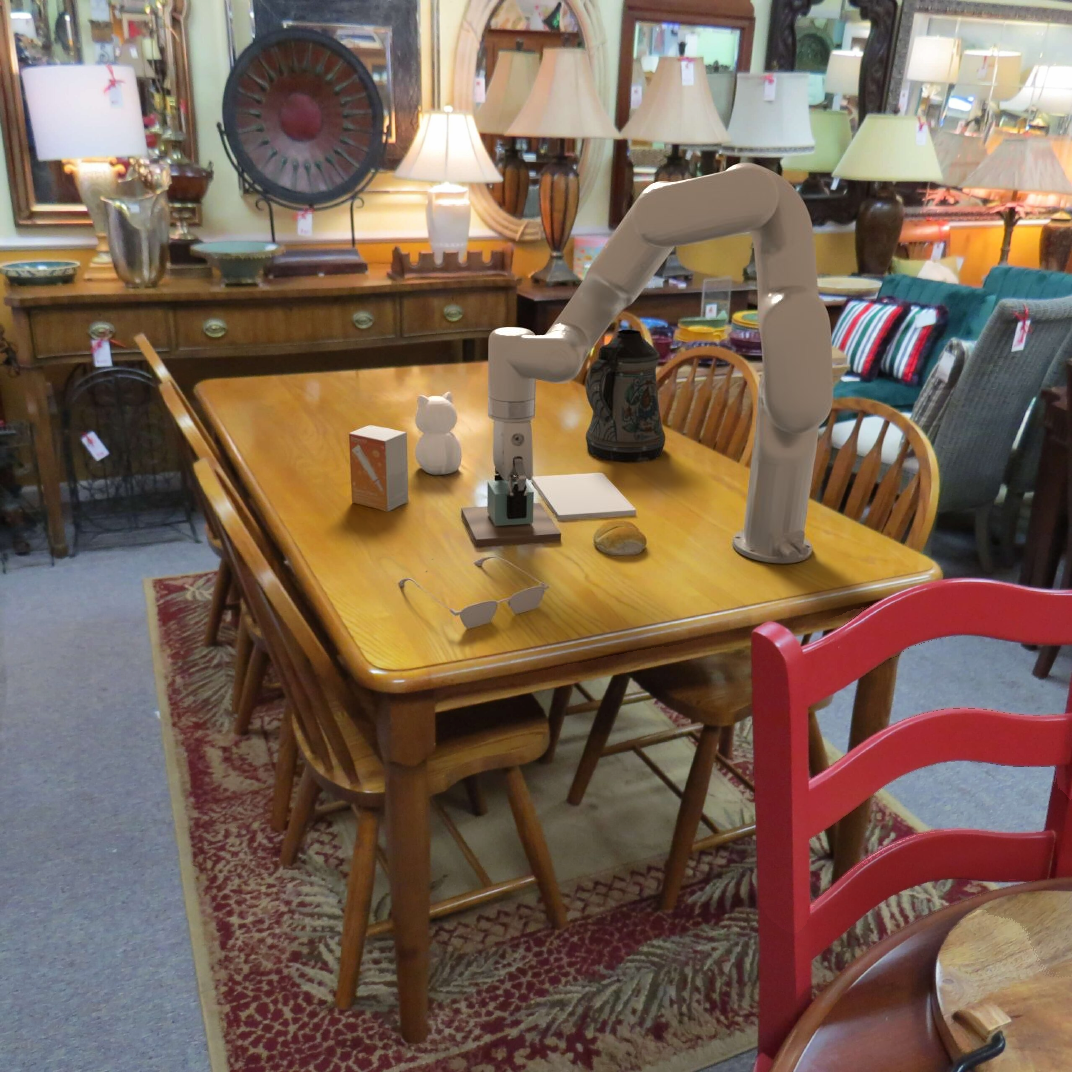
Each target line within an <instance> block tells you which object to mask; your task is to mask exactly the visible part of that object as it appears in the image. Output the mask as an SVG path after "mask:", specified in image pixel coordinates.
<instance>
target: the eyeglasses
mask: <svg viewBox="0 0 1072 1072" xmlns="http://www.w3.org/2000/svg"><path fill="white" fill-rule="evenodd" d="M490 559H497V560H501V561H503V562H505V563H507V564H510V565H512V566H513V567H514V568H516V569H518V570H519V571H522V573H524V574H526V575H527V576H529V577H530V578H532V579H534V580H535V581H536V582H538V583H539V584H540V585H536V586H532V587H529V588H525V589H522V590H520V591H517V592H515V593H513V594H512V595H511V596H510V597H509V598H503V599H500V600H497V601H496V600H495V599H492V600H491V599H490V600H483V601H480V602H477V603H473V604H470V605H467V606H465V607H463V608H462V609H461V610H457V611H456V610H455V609H454V608H450V607H448V606H447V605H445V604H443V603H442V602H441V601H440V600H438V599H437V598H436V597H434V596H432V595H431V594H430V593H429V592H428V591H427V590H426V589H424V588H422V586H421V585H420V584H419V583H418V582H416V580H414V579H413V578H410V577H404V578H402V579H401V580H399V581H398V583H397V585H399V586H400V587H404V586H405V582H407V581H410V582H413V583H414V584H415V585H416V586H417V588H420V589H421V590H423V592H425V593H426V594H428V595H429V596H430V597H431V598H432V599H434V600H435V601H436V602H438V603H440V604H441V605H443V606H444V607H445V608H446V609H448V610H449V613H451V614H452V615H453V616H455V617H458V616H459V618H460V620H461V622H462V624H463V626H464V628H465V629H466V630H469V629H471V628H472V629H473V628H475V627H479V626H482V625H485V624H488V623H492V621H493V620H494V617H495V615H496V612H497V610H498V606H499V605H498V604H500V603H503V602H507V605H508V608H510V609H511V611H512V612H513V614H515V615H518V614H521V613H525V612H528V611H531V610H534V609H538V608H539V607H540V605H541V602H542V600H543V598H544V595H545V591H546V590H549V585H548V584H546V583H545V582H543V581H542V582H541V581H539V580H538V579H536V578H535V576H533V575H530V574H529V573H528V572H526V571H524V569H521V568H519V567H518V566H516V565H515V564H513V563H511V562H510V561H509V560H507V559H504V558H502V557H500V556H491V555H490V556H485V557H482V558H479V559H478V560H475V561H474V562H473V564H474V565H476V566H479V567H482V565H483V564H484V562H486V561H487V560H490Z"/></svg>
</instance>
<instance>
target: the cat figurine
mask: <svg viewBox="0 0 1072 1072" xmlns="http://www.w3.org/2000/svg"><path fill="white" fill-rule="evenodd" d="M416 402H417V409H416V411H415V418H414V420H415V421H414V423H415V425H416V428H417V430H419V431H420V432H421V433H422V435H421V436H420V437H419V439H418V440H417V443H416V445H415V450H414V451H415V452H414V454H415V459H416V462H417V465H418V466H419V467H420V468H421V469H422V470H423V471H424V472H426V473H428V474H430V475H432V476H433V475H434V476H438V475H440V476H441V475H448V474H454V473H455V472H457V471H458V470H459V468H460V466H461V464H462V460H463V459H462V457H463V456H462V455H463V454H462V446H461V443H460V440H459V439H458V437H457V435H455V434H454V433H453V432H452V430H453V429H454V428H455V426H456V424H457V422H458V421H457V420H458V414H457V410H456V408H455V406H454V405H453V404H454V403H453V402H454V400H453V395H452V393H451V392H450V391H447V392H446V393H444V394H443V395H442V396H439V395H432V396H429V397H427V396H425V395H423V394H418V396H417V401H416Z"/></svg>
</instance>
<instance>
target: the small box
mask: <svg viewBox="0 0 1072 1072" xmlns="http://www.w3.org/2000/svg"><path fill="white" fill-rule="evenodd" d="M407 437H408V433H407V431H403V430H402V431H401V430H396V429H392V428H389V427H382V426H378V425H373V424H372V425H371V424H370V425H366V426H364V427H363V426H362V427H361V428H359V429H356V430H354V431H351V432H349V433H348V442H349V445H348V446H349V463H350V464H349V466H350V484H351V485H350V487H351V503H352V504H357V505H361V506H366V507H369V508H374V509H376V510H381V511H384V512H385V513H386V512H387V513H388V512H390V511H392V510H394V509H396V508H398V507H400V506H402V505H404V504H406V503H408V502H409V472H408V471H409V469H408V467H409V466H408V438H407Z"/></svg>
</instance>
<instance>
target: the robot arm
mask: <svg viewBox="0 0 1072 1072" xmlns="http://www.w3.org/2000/svg"><path fill="white" fill-rule="evenodd" d="M811 219H812V218H811V215H810V212H809V211H808V208H807V205H806V204H805V202H804V200H803V198H802V197H801V195H800V194H799V192H798V191H797V190H796V188H794V186H792V184H791V183H790V182H789V181H788V180H787V179H786V178H784V177H783V176H781V175H779V174H778V173H776V172H774V171H772V170H770V169H769V168H766V167H764V166H762V165H759V164H756V163H753V162H740V163H737V164H734V165H732V166H730V167H728V168H727V169H726V170H723V171H719V172H715V173H711V174H707V175H701V176H699V177H694V178H689V179H684V180H678V181H673V182H672V181H665V180H664V181H663V180H662V181H656V182H654V183H651V184H650V185H648V186H647V187H646V188H645V189H644V190H643V191H642V192H641V193H640V194H639V196H638V197H637V199H636V200H635V201H634V203H633V204H632V206H631V207H630V209H628V211H627V213H626V214H625V216H624V217H623V218H622V220H621V222H620V223H619V225H618V226H617V227H616V229H615V230H614V231H613V233H612V234H611V235H610V237H609V238H608V240H607V241H606V243H605V244H604V245H603V247H602V249H600V251H599V252H598V254H597V256H596V257H595V258H594V260H593V261H592V262H591V264H590V265H589V267H588V269H587V271H586V274H585V275H584V278H583V280H582V282H581V283H580V285H579V286H578V288H577V289H576V291H575V292H574V294H573V295H572V297H571V298H570V300H569V301H568V303H566V305H565V307H564V308H563V310H562V311H561V313H560V314H559V315H558V317H557V318H556V319H555V320H554V322H553V324H552V325H551V326H550V327H549V329H548V330H547V332H546V333H545V334H544V335H536V334H535V333H534V332H533V331H531V330H530V329H527V328H524V327H517V326H516V327H514V326H513V327H512V326H510V327H500V328H499V327H498V328H496V329H494V330H492V332H490V334H489V337H488V349H487V350H488V355H487V356H488V357H487V358H488V360H487V361H488V363H487V365H488V366H487V368H488V369H487V370H488V373H487V374H488V375H487V377H488V378H487V379H488V380H487V386H488V387H487V388H488V389H487V391H488V392H487V396H488V397H487V417H488V418H489V419H491V420H492V421H493V422H492V423H493V429H492V430H493V431H492V432H493V433H492V458H493V459H492V461H493V465H494V473H495V474H494V481H499V480H505V481H507V484H508V491H509V495H507V518H508V519H521V518H526V516H527V487H526V486H527V485H526V481H527V480H528V481H531V479H532V478H533V477H534V453H533V452H534V451H533V449H534V447H533V446H534V445H533V431H532V422H531V420H534V419H535V417H536V392H537V391H536V389H537V388H536V386H537V385H536V384H537V383H536V381H537V380H538V381H542V382H546V383H550V384H565V383H566V384H567V383H568V382H570V381H573V380H574V379H575V378H576V377H578V376H579V374H580V372H581V370H582V368H583V365H584V363H585V361H586V359H587V357H588V356H589V355H590V353H591V351H592V350H593V348H595V346H596V344H597V343H598V342H599V340H600V339H601V337H602V336H603V335H604V333H605V332H606V331H607V330H608V328H609V327H610V325H611V324H612V323H613V322H614V320H615V319H616V318H617V317H618V315H619V314H621V312H622V311H624V310H625V309H626V308H627V307H629V306H631V305H632V304H633V303H634V302H635V300H637V298H638V297H639V296H640V295H641V293H642V292H643V291H644V289H645V288H646V286H647V285H648V284H649V283H650V281H651V280H652V278H653V277H654V276H655V274H656V273H657V271H658V270H659V269H660V267H661V266H662V265H663V263H664V262H665V260H666V259H667V258H668V257H669V255H670V254H671V252H672V251H673V250H674V249H675V248H676V247H683V246H689V245H694V244H699V243H704V242H707V241H711V240H717V239H721V238H727V237H732V236H736V235H741V234H746V233H749V235H750V237H751V240H752V243H753V250H754V251H753V252H754V262H755V263H754V264H755V271H756V287H757V313H756V321H757V323H756V324H757V327H758V328H757V329H758V332H759V335H760V344H761V359H762V373H761V374H760V378H759V381H758V386H757V389H758V390H757V398H756V399H757V401H756V416H755V427H754V429H755V430H754V436H753V438H754V439H753V446H752V447H753V448H752V454H751V462H750V470H749V480H748V487H747V488H748V489H747V497H746V505H745V506H746V507H745V515H744V523H743V529H742V530H739V531H738V532H736V533H735V534H734V535H733V537H732V542H731V543H732V547H733V549H734V550H735V551H736V552H738V553H739V554H741V555H743V556H744V557H747V558H749V559H752V560H755V561H758V562H764V563H770V564H795V563H798V562H802V561H805V560H807V559H808V558H810V556H811V555H812V552H813V545H812V543H811V542H810V541H809V540H808V539H807V538H806V533H805V529H806V522H807V516H808V515H807V514H808V507H809V502H810V496H811V489H812V479H813V472H814V466H815V461H816V455H817V449H818V447H817V446H818V440H819V431H820V430H819V429H820V426H821V425H822V424H823V423H824V422H825V421H826V420H827V418H828V416H829V415H830V412H831V409H832V406H833V401H834V376H833V374H834V373H833V372H834V371H833V369H834V368H833V348H832V346H833V345H832V343H833V342H832V331H831V330H832V329H831V328H832V327H831V321H830V316H829V313H828V310H827V308H826V305H825V304H824V302H823V301H822V300H821V297H820V293H819V286H818V285H819V284H818V270H817V268H818V267H817V258H816V245H815V236H814V229H813V223H812V220H811ZM512 482H517V484H515V485H514V487H513V486H512Z"/></svg>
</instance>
